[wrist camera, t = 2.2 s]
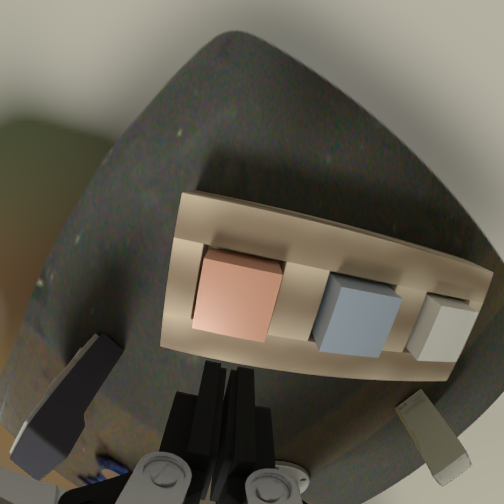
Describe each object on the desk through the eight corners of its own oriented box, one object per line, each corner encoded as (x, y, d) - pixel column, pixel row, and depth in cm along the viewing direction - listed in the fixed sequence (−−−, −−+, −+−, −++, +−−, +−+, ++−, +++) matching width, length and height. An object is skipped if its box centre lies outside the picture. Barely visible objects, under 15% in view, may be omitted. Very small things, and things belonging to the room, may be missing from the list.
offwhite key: (440, 346, 24) (455, 362, 21) (402, 343, 24) (417, 360, 21) (460, 300, 23) (478, 312, 20) (423, 292, 22) (441, 305, 19)
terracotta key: (262, 322, 23) (264, 342, 20) (198, 309, 22) (191, 328, 20) (278, 262, 22) (282, 274, 19) (210, 247, 21) (203, 258, 18)
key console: (425, 357, 29) (446, 380, 24) (173, 318, 27) (160, 346, 22) (464, 259, 26) (493, 272, 21) (195, 190, 24) (182, 192, 19)
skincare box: (393, 407, 30) (430, 476, 19) (421, 386, 30) (467, 450, 18) (407, 426, 32) (441, 488, 20) (433, 407, 31) (473, 466, 19)
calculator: (98, 325, 27) (18, 417, 13) (129, 353, 28) (67, 458, 13) (63, 375, 29) (2, 453, 15) (89, 398, 30) (38, 482, 15)
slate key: (365, 339, 23) (378, 357, 20) (311, 331, 23) (318, 351, 20) (386, 284, 22) (402, 298, 19) (330, 273, 22) (341, 286, 19)
